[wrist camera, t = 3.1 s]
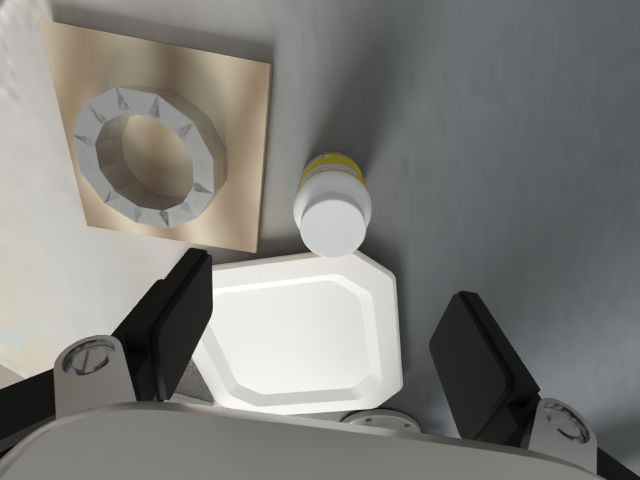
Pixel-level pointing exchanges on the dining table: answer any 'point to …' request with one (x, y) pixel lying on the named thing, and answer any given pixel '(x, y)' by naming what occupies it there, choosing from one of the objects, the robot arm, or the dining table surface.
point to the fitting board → (160, 142)
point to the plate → (302, 335)
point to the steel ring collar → (116, 176)
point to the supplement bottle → (332, 205)
